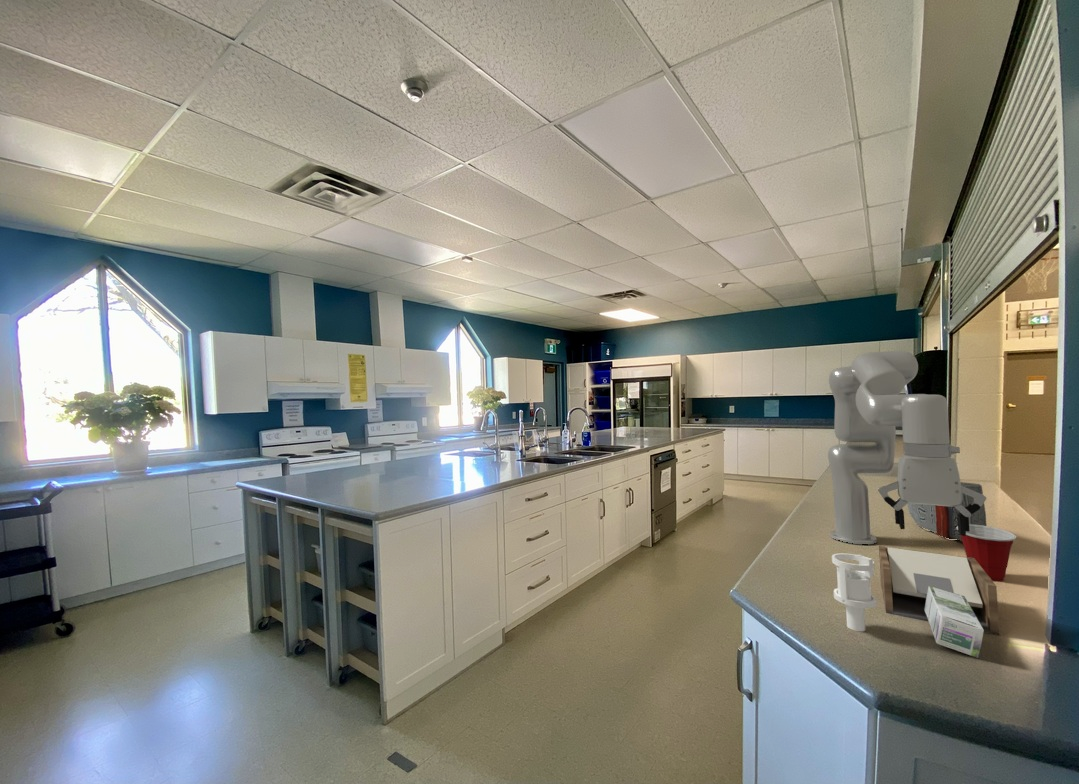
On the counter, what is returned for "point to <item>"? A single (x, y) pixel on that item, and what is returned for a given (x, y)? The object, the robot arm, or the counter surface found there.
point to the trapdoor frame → (916, 605)
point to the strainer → (854, 588)
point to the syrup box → (953, 621)
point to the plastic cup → (989, 549)
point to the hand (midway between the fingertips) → (931, 531)
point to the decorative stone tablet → (947, 515)
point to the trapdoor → (932, 574)
